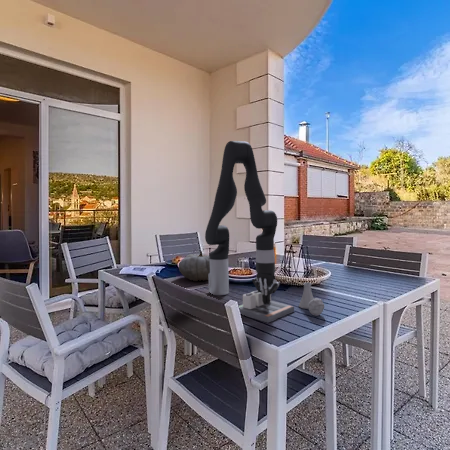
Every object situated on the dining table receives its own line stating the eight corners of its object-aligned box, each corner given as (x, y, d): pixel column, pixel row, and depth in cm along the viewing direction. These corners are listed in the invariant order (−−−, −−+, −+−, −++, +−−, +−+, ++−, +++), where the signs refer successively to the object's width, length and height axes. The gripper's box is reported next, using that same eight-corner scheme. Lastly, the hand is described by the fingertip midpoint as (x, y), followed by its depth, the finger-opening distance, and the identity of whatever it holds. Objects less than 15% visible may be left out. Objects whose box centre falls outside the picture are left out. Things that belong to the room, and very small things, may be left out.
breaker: (242, 307, 129) (242, 293, 129) (248, 305, 131) (247, 291, 131) (250, 309, 126) (250, 295, 126) (255, 307, 128) (255, 293, 128)
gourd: (186, 282, 171) (186, 249, 174) (171, 280, 193) (172, 251, 196) (228, 281, 182) (227, 250, 185) (209, 279, 204) (209, 252, 207)
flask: (319, 306, 135) (319, 283, 135) (311, 311, 130) (311, 286, 129) (303, 303, 140) (303, 280, 139) (295, 307, 135) (295, 283, 134)
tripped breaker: (251, 304, 133) (250, 290, 132) (256, 302, 135) (255, 289, 134) (258, 306, 130) (258, 292, 129) (263, 304, 132) (263, 291, 132)
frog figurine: (312, 319, 120) (312, 301, 120) (304, 313, 127) (304, 295, 127) (327, 318, 122) (327, 299, 121) (319, 312, 128) (319, 294, 128)
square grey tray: (234, 312, 130) (234, 307, 130) (261, 302, 142) (261, 298, 142) (267, 322, 118) (267, 317, 118) (294, 311, 130) (294, 306, 130)
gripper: (246, 260, 130) (247, 302, 131) (272, 263, 121) (274, 309, 121) (258, 258, 135) (259, 298, 136) (284, 261, 126) (285, 304, 127)
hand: (266, 303), depth 129 cm, fingers closed
